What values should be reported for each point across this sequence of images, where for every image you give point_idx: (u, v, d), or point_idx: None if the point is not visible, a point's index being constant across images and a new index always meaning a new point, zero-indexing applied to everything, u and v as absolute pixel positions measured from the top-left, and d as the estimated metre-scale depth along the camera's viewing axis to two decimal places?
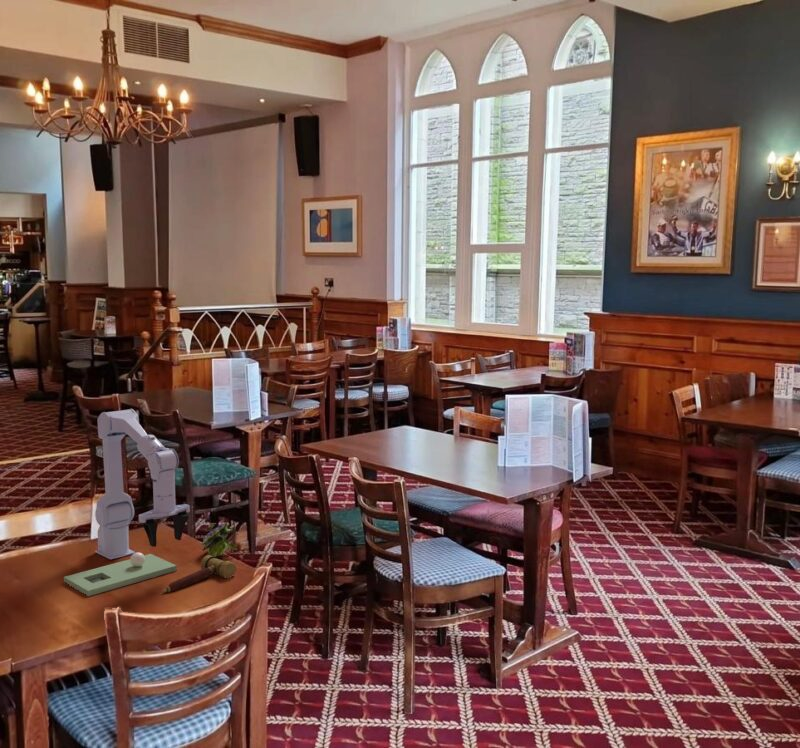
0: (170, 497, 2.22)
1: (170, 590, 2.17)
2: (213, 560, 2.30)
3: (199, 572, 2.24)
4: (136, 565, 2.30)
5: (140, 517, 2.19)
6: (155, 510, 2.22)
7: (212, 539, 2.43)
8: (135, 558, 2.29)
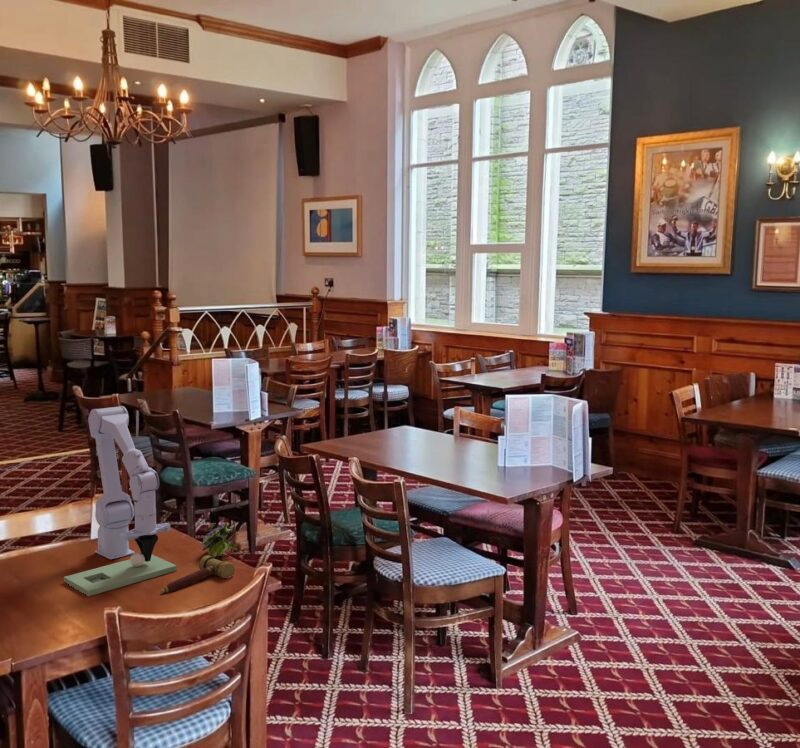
0: (151, 517, 2.30)
1: (168, 590, 2.17)
2: (212, 560, 2.30)
3: (197, 572, 2.24)
4: (136, 565, 2.30)
5: (122, 536, 2.27)
6: (136, 529, 2.30)
7: (212, 539, 2.43)
8: (135, 558, 2.29)
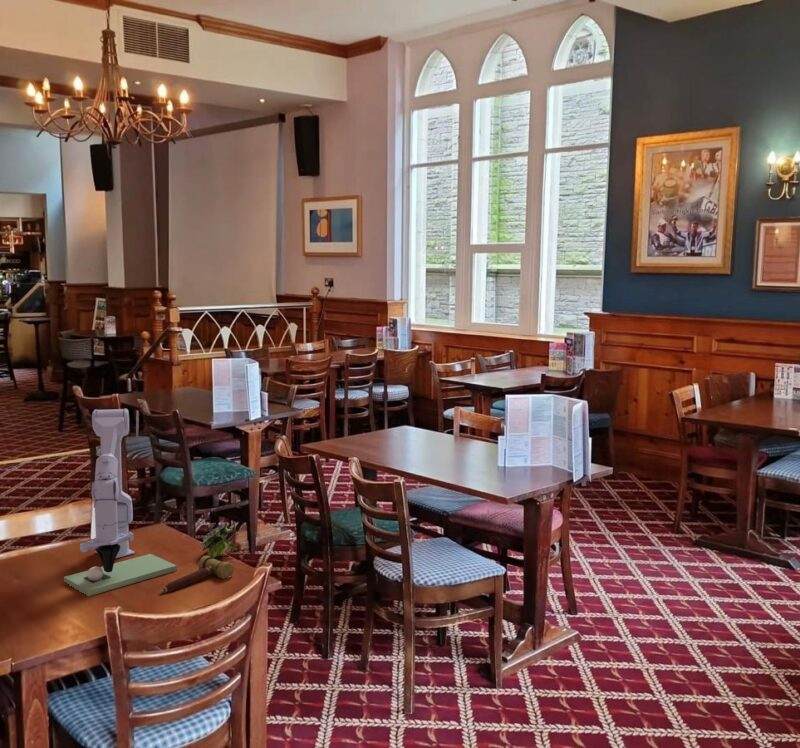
0: (112, 526, 2.21)
1: (167, 591, 2.16)
2: (211, 561, 2.30)
3: (196, 573, 2.24)
4: (101, 577, 2.23)
5: (81, 546, 2.18)
6: (97, 539, 2.21)
7: (212, 539, 2.43)
8: (94, 578, 2.21)
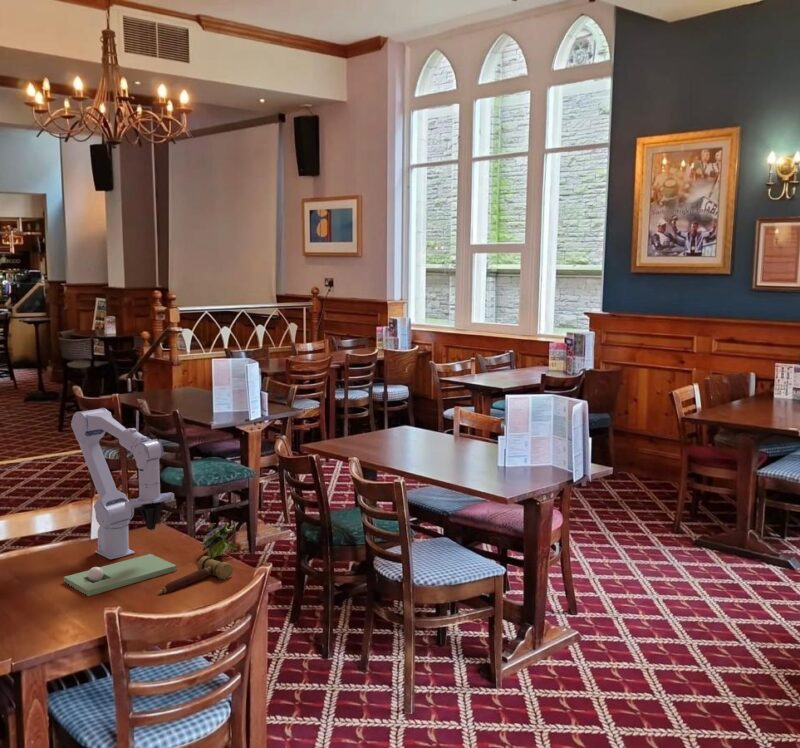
0: (155, 485, 2.33)
1: (166, 591, 2.16)
2: (210, 561, 2.30)
3: (195, 573, 2.24)
4: (101, 578, 2.23)
5: (126, 504, 2.30)
6: (140, 498, 2.33)
7: (212, 539, 2.43)
8: (94, 579, 2.21)
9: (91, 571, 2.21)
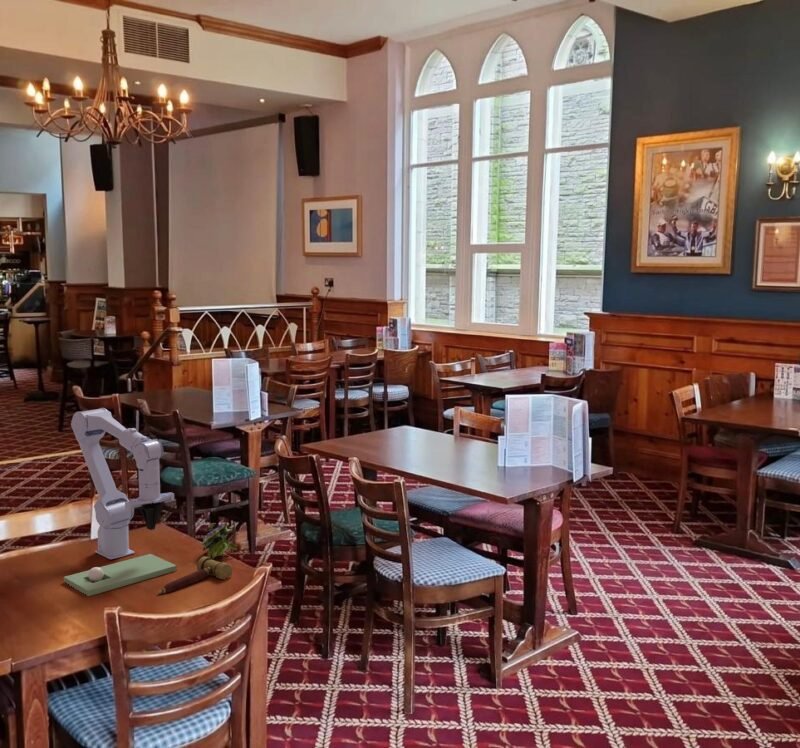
0: (155, 485, 2.33)
1: (165, 591, 2.16)
2: (209, 561, 2.29)
3: (195, 573, 2.24)
4: (101, 578, 2.23)
5: (126, 504, 2.30)
6: (140, 498, 2.33)
7: (212, 539, 2.43)
8: (94, 579, 2.21)
9: (92, 572, 2.21)
